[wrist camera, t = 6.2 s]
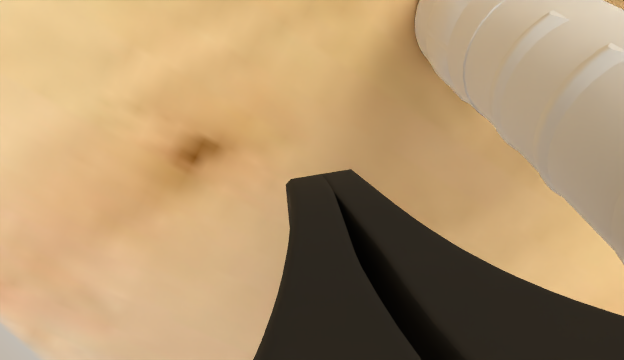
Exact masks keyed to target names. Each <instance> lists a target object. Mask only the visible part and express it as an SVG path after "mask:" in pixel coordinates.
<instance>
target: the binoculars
mask: <svg viewBox="0 0 624 360" xmlns="http://www.w3.org/2000/svg"><path fill="white" fill-rule="evenodd" d="M415 34H416V38H417V43H418V45H419V47H420V49H421V52H422V53H423V55H424V56H425V57H426V58H427V60H428V61H429V62H430V63H431V65H432V67H433V70H434V72H435V73H436V74H437V75H438V76H439V77H440V78H441V79H442V80H443V81H444V82H445V83H446V84H447V85H448V86H449V87H450V88H451V89H452V90H453V91H454V92H455V93H456V94H457V95H458V97H459V98H460V99H461V100H463V101H465V102H467V103H469V104H470V105H471V106H472V107H473V108H474V109H475V110H476V111H477V112H478V113H480V114H481V115H482V116H484V117H485V118H486V119H487V120H488V121H489V122H490V123H491V124H492V125H493V126H494V127H495V128H496V131H497V132H498V133H499V135H500V136H501V137H502V139H503V140H504V141H505V142H506V143H507V144H509V145H510V146H511V147H513V148H514V149H516V150H517V151H518V152H519V153H520V154H521V155H522V156H523V157H524V158H525V159H526V160H527V161H528V162H529V163H530V164H531V165H532V166H533V167H534V168H535V169H536V170H537V171H538V172H539V174H540V176H541V178H542V179H543V181H544V182H545V183H546V185H547V186H548V187H549V188H550V189H551V190H553V191H554V192H555V193H557V194H558V195H560V196H562V197H563V198H564V199H565V200H566V201H567V202H568V203H569V204H570V205H571V206H572V207H573V208H574V209H575V210H576V211H577V212H578V214H579V215H580V216H581V217H582V218H583V219H584V220H585V221H586V222H587V223H588V224H589V225H590V226H591V227H592V228H593V229H594V230H595V231H596V232H597V233H598V234H599V235H600V236H601V237H602V238H603V239H604V240H605V241H606V242H607V243H608V244H609V246H610V247H611V248H612V249H613V250H614V251H615V252H616V254H617V255H618V257H619V258H620V260H621V261H622V263H623V264H624V10H623V9H620V8H618V7H616V6H614V5H612V4H610V3H608V2H606V1H603V0H419V3H418V6H417V10H416V16H415Z"/></svg>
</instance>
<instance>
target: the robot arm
mask: <svg viewBox="0 0 624 360" xmlns="http://www.w3.org/2000/svg"><path fill="white" fill-rule="evenodd" d="M286 192H287V203H288V213H289V224H290V233H289V243H288V250H287V255H286V260H285V265H284V270H283V275H282V279H281V283H280V287H279V291H278V295H277V298H276V301H275V304H274V308H273V311H272V314H271V317H270V319H269V322H268V325H267V328H266V330H265V333H264V336H263V338H262V341H261V343H260V346H259V348H258V350H257V353H256V355H255V357H254V359H253V360H624V316H621V315H618V314H615V313H612V312H609V311H606V310H603V309H600V308H597V307H594V306H591V305H588V304H584V303H581V302H578V301H576V300H573V299H570V298H567V297H565V296H562V295H559V294H557V293H554V292H551V291H549V290H547V289H544V288H542V287H539V286H537V285H535V284H532V283H530V282H528V281H525V280H523V279H521V278H518V277H516V276H514V275H512V274H509V273H507V272H505V271H503V270H501V269H499V268H497V267H495V266H493V265H491V264H489V263H487V262H485V261H483V260H482V259H480V258H478V257H476V256H474V255H472V254H470V253H468V252H466V251H465V250H463V249H461V248H459V247H458V246H456V245H454V244H453V243H451V242H449V241H448V240H446V239H445V238H443V237H442V236H440V235H438V234H437V233H435V232H434V231H432V230H430V229H429V228H428V227H426V226H425V225H423V224H422V223H420V222H419V221H417V220H416V219H414V218H413V217H412V216H410V215H409V214H408V213H406V212H405V211H403V210H402V209H401V208H399V207H398V206H397V205H395V204H394V203H393V202H392V201H390V200H389V199H388V198H386V197H385V196H384V195H383V194H381V193H380V192H379V191H378V190H376V189H375V188H374V187H373V186H371V185H370V184H369V183H368V182H366V181H365V180H364V179H363V178H361V177H360V176H359V175H358V174H356V173H355V172H354V171H352V170H351V169H350V170H344V171H338V172H332V173H326V174H319V175H313V176H307V177H301V178H295V179H291V180H290V181H289V182H288V183H287V184H286Z"/></svg>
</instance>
